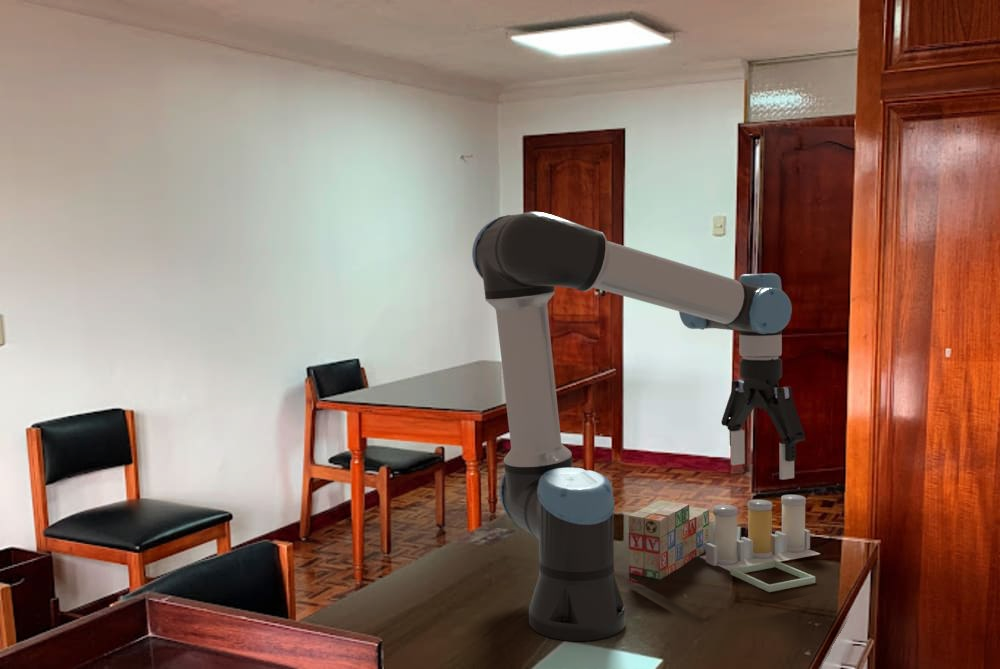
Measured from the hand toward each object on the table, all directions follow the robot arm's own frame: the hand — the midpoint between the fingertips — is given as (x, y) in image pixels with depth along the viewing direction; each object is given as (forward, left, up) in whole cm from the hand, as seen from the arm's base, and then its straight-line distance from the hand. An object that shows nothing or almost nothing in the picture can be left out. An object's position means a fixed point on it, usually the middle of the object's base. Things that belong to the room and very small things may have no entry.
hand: (761, 471), depth 170 cm
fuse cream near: (-8, 0, -16) cm, 18 cm away
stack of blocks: (-17, +5, -18) cm, 25 cm away
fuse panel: (0, 0, -17) cm, 17 cm away
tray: (-7, -11, -17) cm, 22 cm away
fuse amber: (0, 0, -16) cm, 16 cm away
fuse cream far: (+8, 0, -16) cm, 18 cm away
